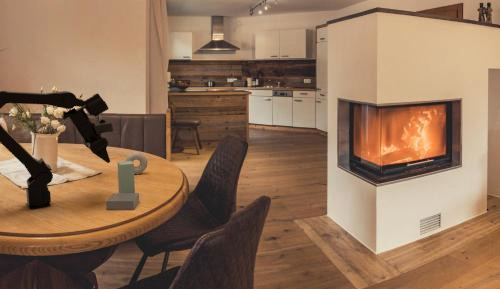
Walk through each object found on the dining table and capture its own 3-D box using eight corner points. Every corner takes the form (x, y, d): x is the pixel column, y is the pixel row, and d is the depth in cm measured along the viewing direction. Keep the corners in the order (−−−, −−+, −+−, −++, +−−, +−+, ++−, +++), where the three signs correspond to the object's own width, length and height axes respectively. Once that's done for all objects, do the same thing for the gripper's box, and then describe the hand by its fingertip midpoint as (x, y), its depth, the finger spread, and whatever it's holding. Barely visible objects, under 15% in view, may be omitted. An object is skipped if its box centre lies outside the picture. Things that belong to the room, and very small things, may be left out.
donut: (147, 172, 188) (147, 151, 187) (148, 174, 185) (147, 152, 183) (124, 173, 185) (124, 152, 183) (125, 175, 182) (124, 153, 180)
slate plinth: (106, 209, 138) (106, 201, 137) (113, 201, 146) (113, 193, 146) (133, 209, 138) (133, 201, 138) (139, 201, 147) (138, 193, 147)
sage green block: (121, 197, 150) (119, 164, 148) (118, 194, 155) (117, 162, 153) (134, 196, 153) (133, 163, 151) (132, 192, 157) (131, 161, 155)
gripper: (109, 114, 139) (132, 152, 145) (98, 109, 154) (119, 144, 161) (79, 132, 135) (104, 170, 141) (70, 125, 150) (93, 159, 157)
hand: (106, 159), depth 150 cm, fingers open, 9 cm apart
